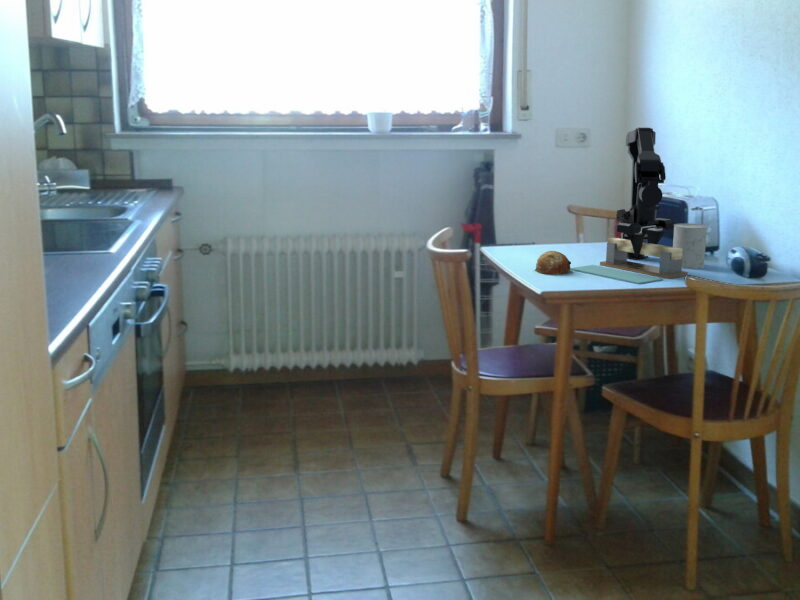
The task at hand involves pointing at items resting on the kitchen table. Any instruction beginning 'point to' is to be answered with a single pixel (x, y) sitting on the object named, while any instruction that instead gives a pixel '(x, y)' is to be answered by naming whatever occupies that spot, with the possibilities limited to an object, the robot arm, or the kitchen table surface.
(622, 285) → the kitchen table surface
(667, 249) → the rail
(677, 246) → the grey stone cylinder
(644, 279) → the mat
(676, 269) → the bracketed wooden plank
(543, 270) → the bread roll
